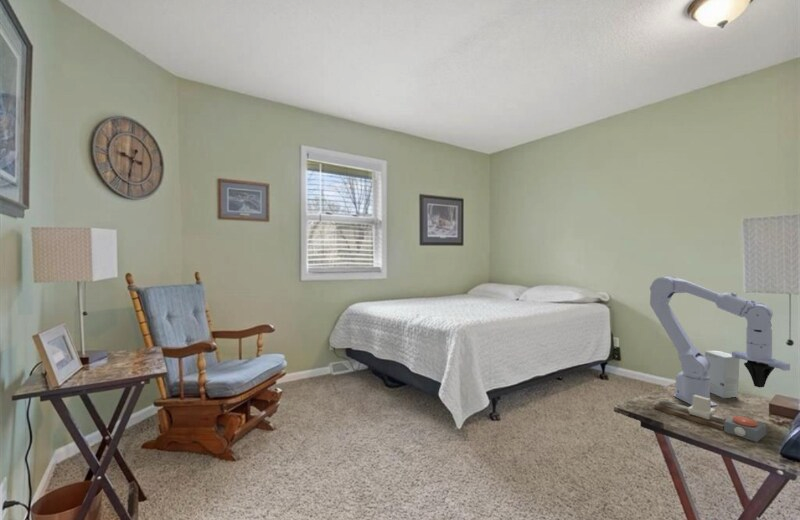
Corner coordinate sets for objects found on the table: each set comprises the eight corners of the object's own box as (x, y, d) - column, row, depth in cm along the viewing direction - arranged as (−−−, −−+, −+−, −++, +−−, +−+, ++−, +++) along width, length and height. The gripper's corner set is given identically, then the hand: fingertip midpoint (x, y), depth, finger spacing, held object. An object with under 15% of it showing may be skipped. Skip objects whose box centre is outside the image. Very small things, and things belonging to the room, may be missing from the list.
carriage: (687, 414, 114) (687, 396, 114) (696, 409, 118) (696, 392, 117) (707, 420, 110) (707, 402, 110) (715, 415, 113) (715, 397, 113)
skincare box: (702, 390, 137) (702, 350, 137) (717, 389, 138) (717, 349, 137) (724, 399, 129) (724, 356, 128) (740, 397, 129) (740, 355, 129)
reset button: (729, 430, 106) (729, 419, 106) (736, 425, 109) (736, 414, 109) (753, 438, 102) (753, 426, 102) (760, 432, 104) (760, 421, 104)
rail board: (654, 408, 123) (654, 401, 122) (663, 404, 126) (663, 397, 126) (722, 430, 107) (722, 422, 107) (731, 424, 110) (730, 417, 110)
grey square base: (723, 431, 106) (723, 421, 106) (733, 425, 110) (733, 415, 110) (756, 442, 100) (756, 431, 100) (765, 434, 104) (765, 424, 104)
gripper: (724, 338, 121) (724, 379, 121) (776, 350, 107) (776, 396, 107) (741, 337, 122) (741, 377, 123) (795, 348, 108) (795, 394, 108)
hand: (759, 386), depth 115 cm, fingers closed
